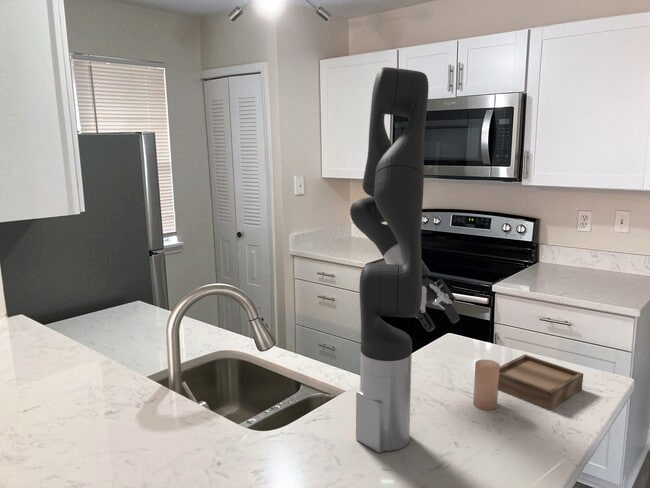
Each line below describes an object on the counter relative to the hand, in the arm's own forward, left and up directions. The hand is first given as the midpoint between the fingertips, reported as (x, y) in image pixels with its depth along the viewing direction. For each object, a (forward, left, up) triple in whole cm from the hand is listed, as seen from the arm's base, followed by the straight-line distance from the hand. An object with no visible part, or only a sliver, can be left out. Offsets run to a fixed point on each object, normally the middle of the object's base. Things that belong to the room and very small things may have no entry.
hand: (444, 325), depth 117 cm
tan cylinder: (0, -11, -14) cm, 18 cm away
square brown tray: (+15, -14, -14) cm, 25 cm away
